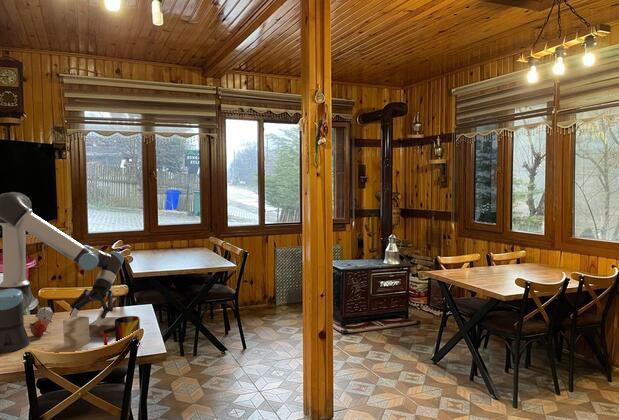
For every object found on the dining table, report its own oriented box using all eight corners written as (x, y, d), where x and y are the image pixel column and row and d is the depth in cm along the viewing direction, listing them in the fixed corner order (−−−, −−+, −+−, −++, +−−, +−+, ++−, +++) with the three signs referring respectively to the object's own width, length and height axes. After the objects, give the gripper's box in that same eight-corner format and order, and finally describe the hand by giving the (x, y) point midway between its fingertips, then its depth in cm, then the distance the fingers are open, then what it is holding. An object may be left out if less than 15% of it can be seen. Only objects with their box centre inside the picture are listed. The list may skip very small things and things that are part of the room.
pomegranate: (45, 336, 214) (24, 327, 209) (55, 323, 215) (35, 313, 210) (45, 343, 207) (23, 333, 203) (56, 329, 209) (35, 319, 204)
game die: (47, 330, 227) (46, 317, 222) (31, 324, 227) (29, 311, 222) (59, 317, 235) (58, 304, 229) (43, 311, 235) (42, 298, 229)
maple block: (63, 346, 195) (62, 320, 195) (75, 340, 202) (74, 315, 201) (78, 347, 194) (77, 321, 193) (89, 341, 200) (88, 316, 200)
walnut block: (88, 338, 206) (87, 325, 205) (100, 329, 218) (100, 317, 217) (115, 338, 206) (114, 325, 205) (126, 329, 218) (125, 317, 217)
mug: (103, 354, 186) (102, 324, 185) (125, 342, 199) (124, 315, 199) (123, 356, 184) (122, 326, 183) (145, 344, 197) (144, 316, 196)
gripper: (131, 287, 214) (112, 329, 200) (84, 285, 219) (62, 326, 205) (124, 278, 208) (104, 321, 194) (76, 276, 213) (53, 318, 200)
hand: (83, 324), depth 200 cm, fingers open, 13 cm apart
